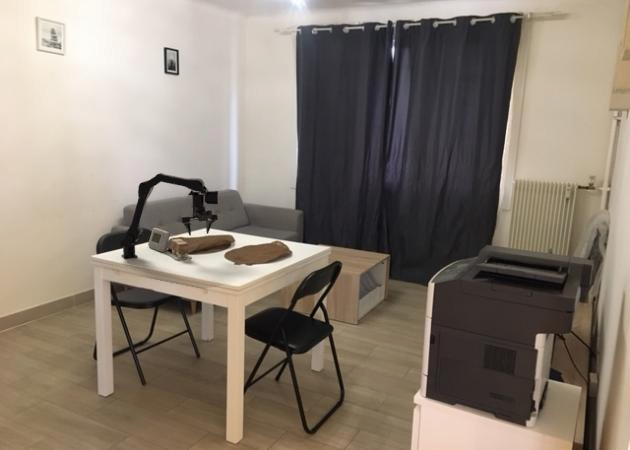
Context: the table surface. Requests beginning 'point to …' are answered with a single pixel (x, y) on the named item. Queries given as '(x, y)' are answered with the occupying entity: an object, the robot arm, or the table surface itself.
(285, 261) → the table surface
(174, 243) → the tan rectangular block
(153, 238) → the digital clock
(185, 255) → the peg stand
